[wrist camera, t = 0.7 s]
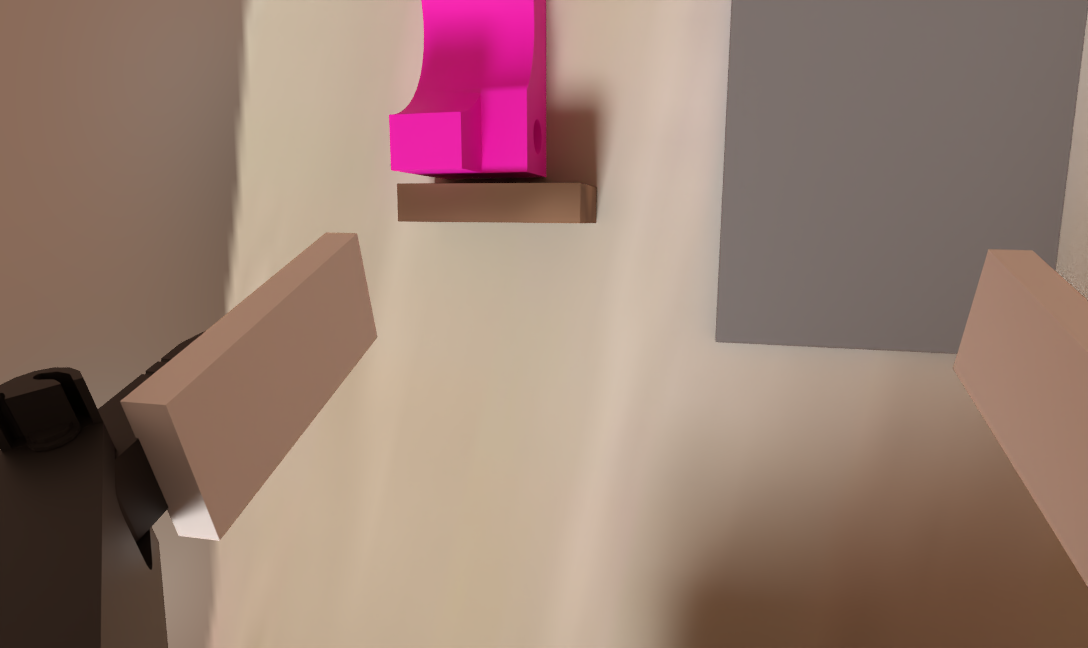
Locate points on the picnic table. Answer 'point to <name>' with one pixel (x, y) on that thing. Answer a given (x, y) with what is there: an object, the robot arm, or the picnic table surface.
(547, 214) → the block
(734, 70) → the slate mat
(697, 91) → the picnic table surface
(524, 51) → the toy block
